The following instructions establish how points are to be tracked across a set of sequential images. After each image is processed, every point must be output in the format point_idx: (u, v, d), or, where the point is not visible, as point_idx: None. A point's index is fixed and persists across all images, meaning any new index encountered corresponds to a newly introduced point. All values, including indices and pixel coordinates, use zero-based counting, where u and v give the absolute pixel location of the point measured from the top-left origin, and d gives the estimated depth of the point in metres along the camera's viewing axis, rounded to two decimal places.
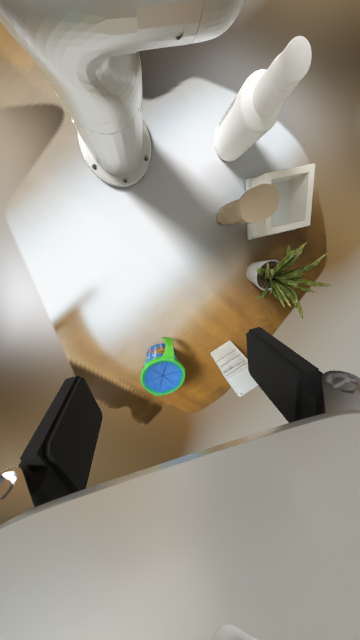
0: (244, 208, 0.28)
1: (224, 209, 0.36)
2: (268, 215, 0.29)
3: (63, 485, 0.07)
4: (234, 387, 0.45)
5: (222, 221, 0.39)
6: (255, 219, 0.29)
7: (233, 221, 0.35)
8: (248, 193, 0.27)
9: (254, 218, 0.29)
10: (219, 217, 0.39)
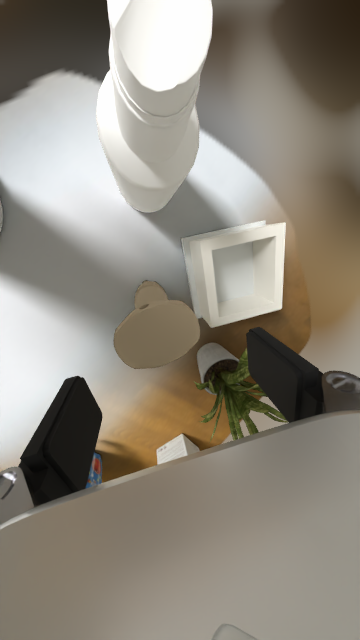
0: (125, 349, 0.14)
1: (135, 297, 0.22)
2: (182, 353, 0.15)
3: (63, 485, 0.07)
4: None
5: None
6: (155, 362, 0.14)
7: None
8: (128, 324, 0.13)
9: (152, 361, 0.14)
10: None
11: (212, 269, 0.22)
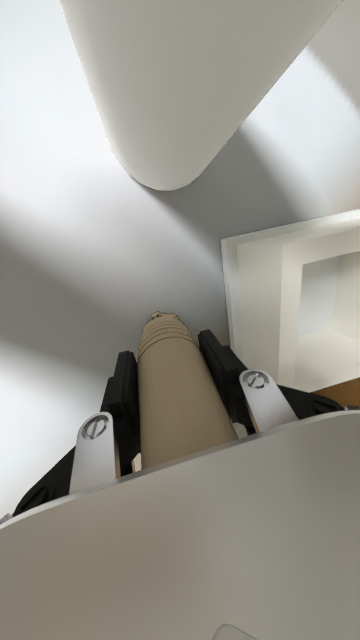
0: None
1: (138, 361, 0.10)
2: None
3: (134, 432, 0.08)
4: None
5: None
6: None
7: None
8: None
9: None
10: None
11: (297, 302, 0.11)
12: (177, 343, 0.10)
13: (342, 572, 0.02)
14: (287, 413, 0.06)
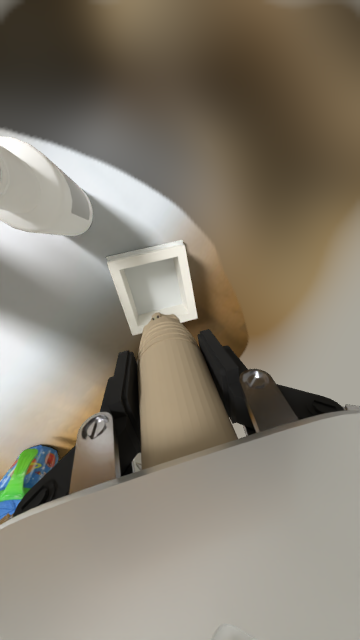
0: None
1: (139, 362, 0.10)
2: None
3: (134, 432, 0.08)
4: None
5: None
6: None
7: None
8: None
9: None
10: None
11: (123, 285, 0.25)
12: (177, 344, 0.10)
13: (342, 572, 0.02)
14: (287, 413, 0.06)
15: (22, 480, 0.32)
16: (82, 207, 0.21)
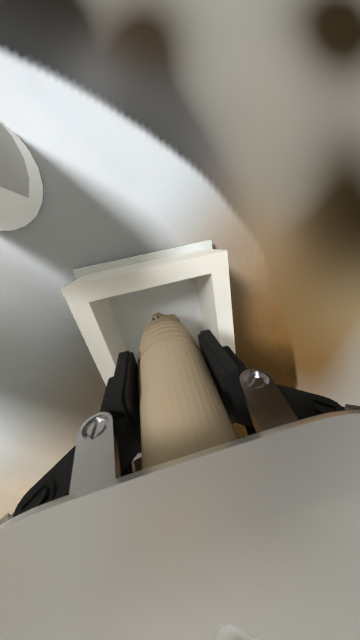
0: None
1: (139, 362, 0.10)
2: None
3: (134, 432, 0.08)
4: None
5: None
6: None
7: None
8: None
9: None
10: None
11: (99, 332, 0.12)
12: (177, 344, 0.10)
13: (342, 572, 0.02)
14: (287, 413, 0.06)
15: None
16: None
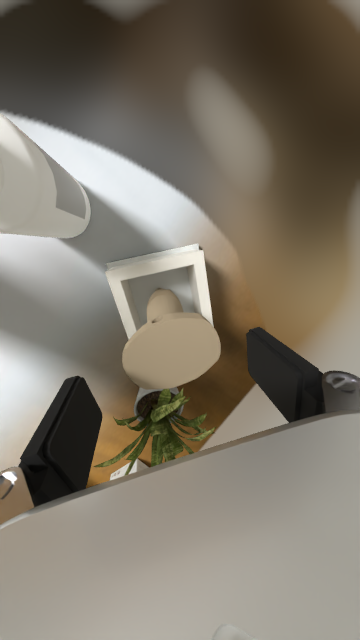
0: (135, 368, 0.12)
1: (147, 306, 0.20)
2: (198, 373, 0.13)
3: (62, 485, 0.07)
4: None
5: None
6: (168, 382, 0.13)
7: None
8: (138, 340, 0.11)
9: (165, 381, 0.13)
10: None
11: (125, 300, 0.20)
12: (166, 295, 0.19)
13: (342, 572, 0.02)
14: None
15: None
16: (74, 201, 0.17)
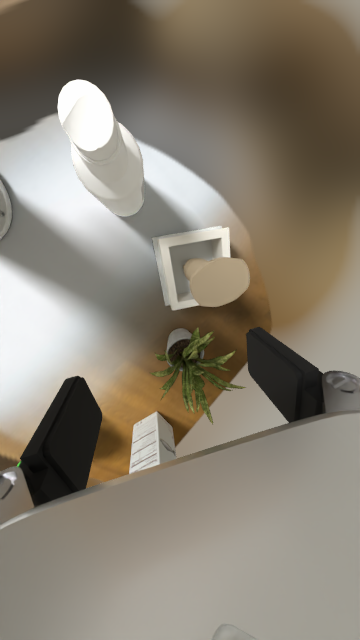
0: (198, 289, 0.19)
1: (187, 267, 0.28)
2: (234, 297, 0.20)
3: (62, 485, 0.07)
4: None
5: None
6: (216, 302, 0.20)
7: None
8: (203, 270, 0.19)
9: (214, 301, 0.20)
10: (184, 273, 0.30)
11: (170, 262, 0.28)
12: (202, 259, 0.27)
13: (342, 572, 0.02)
14: None
15: None
16: (144, 187, 0.24)
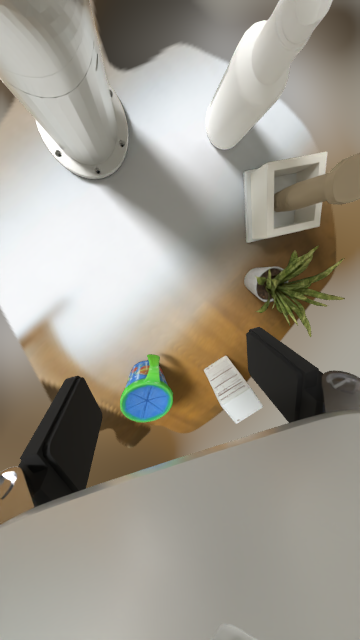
0: (338, 183, 0.22)
1: (288, 191, 0.30)
2: None
3: (62, 485, 0.07)
4: (230, 413, 0.39)
5: (281, 207, 0.33)
6: (348, 198, 0.23)
7: (301, 205, 0.29)
8: (346, 163, 0.21)
9: (347, 197, 0.23)
10: (277, 202, 0.33)
11: (273, 186, 0.30)
12: None
13: (342, 572, 0.02)
14: None
15: (158, 371, 0.37)
16: None
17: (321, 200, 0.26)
